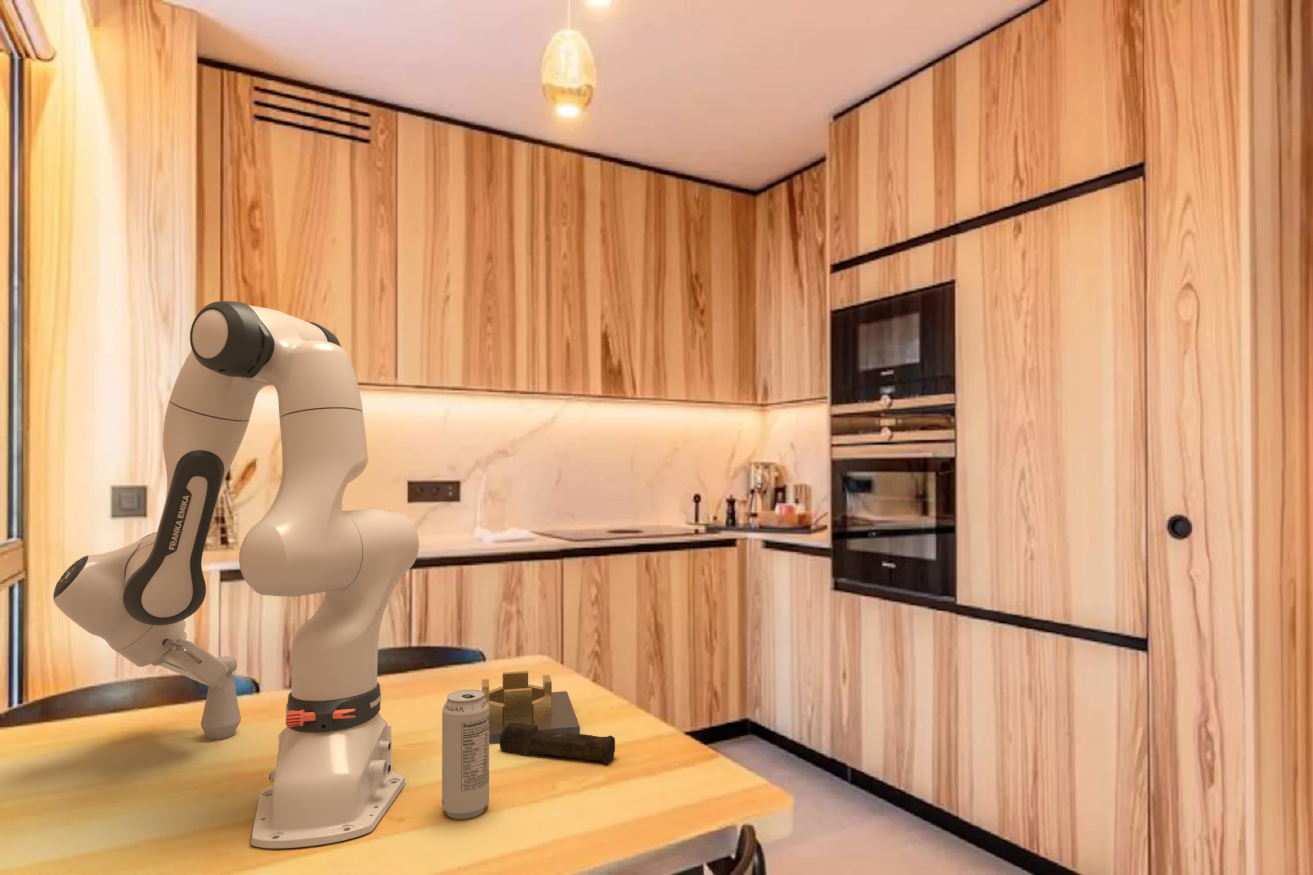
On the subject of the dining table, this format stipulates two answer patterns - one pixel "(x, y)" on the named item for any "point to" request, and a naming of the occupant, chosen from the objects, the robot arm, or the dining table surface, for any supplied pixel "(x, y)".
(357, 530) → the robot arm
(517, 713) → the castellated collar
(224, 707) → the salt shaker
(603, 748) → the dark brown textured rod
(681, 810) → the dining table surface
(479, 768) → the energy drink can
